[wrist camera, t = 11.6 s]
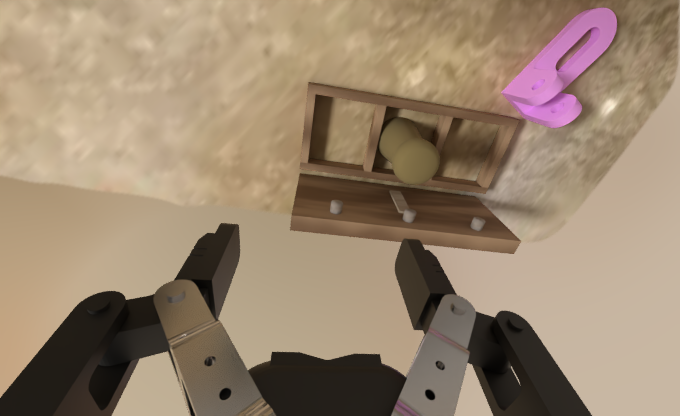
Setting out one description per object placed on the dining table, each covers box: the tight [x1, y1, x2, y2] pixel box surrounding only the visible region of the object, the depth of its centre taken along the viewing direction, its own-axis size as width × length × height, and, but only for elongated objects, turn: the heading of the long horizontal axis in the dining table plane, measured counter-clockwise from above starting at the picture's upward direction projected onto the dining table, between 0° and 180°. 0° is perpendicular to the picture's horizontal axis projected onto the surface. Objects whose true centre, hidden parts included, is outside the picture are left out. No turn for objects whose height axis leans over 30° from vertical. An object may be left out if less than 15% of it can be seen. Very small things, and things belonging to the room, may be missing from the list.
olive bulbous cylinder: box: [377, 117, 440, 185], centre depth 35 cm, size 6×6×11 cm
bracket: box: [501, 8, 617, 128], centre depth 33 cm, size 13×6×7 cm, turn 142°
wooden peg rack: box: [290, 82, 521, 254], centre depth 35 cm, size 14×28×12 cm, turn 81°
